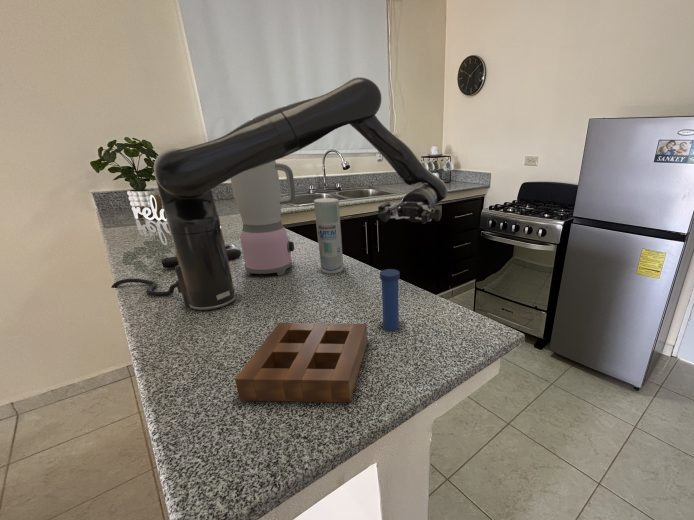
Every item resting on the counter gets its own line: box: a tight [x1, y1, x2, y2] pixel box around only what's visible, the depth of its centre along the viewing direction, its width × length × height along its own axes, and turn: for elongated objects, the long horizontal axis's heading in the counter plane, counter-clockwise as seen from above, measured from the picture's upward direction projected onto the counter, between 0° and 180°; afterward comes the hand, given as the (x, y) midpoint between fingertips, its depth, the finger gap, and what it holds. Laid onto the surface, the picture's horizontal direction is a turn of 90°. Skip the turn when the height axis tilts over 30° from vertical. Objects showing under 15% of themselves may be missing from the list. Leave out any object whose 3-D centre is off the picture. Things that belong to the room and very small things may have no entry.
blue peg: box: [379, 268, 401, 332], centre depth 69 cm, size 4×4×12 cm
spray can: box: [313, 197, 344, 274], centre depth 97 cm, size 6×6×20 cm
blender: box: [229, 160, 296, 276], centre depth 94 cm, size 16×12×32 cm
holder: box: [234, 322, 368, 403], centre depth 58 cm, size 16×16×4 cm
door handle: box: [160, 243, 242, 269], centre depth 108 cm, size 3×20×16 cm
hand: (403, 218), depth 74 cm, fingers open, 8 cm apart
